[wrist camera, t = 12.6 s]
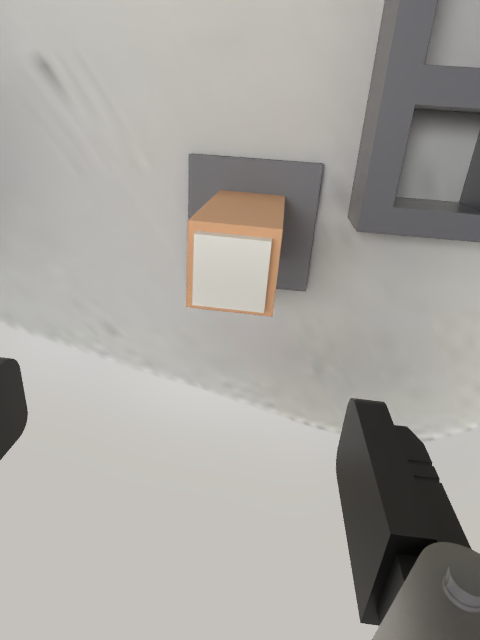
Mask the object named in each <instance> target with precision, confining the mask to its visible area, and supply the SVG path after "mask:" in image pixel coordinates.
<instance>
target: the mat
mask: <svg viewBox="0 0 480 640" xmlns="http://www.w3.org/2000/svg"><path fill="white" fill-rule="evenodd" d="M322 170H323V163H310V162H297V161H283V160H270V159H256V158H243V157H230V156H216V155H203V154H189V203H188V220H189V219H190V218H191V217H192V216H193V215H194V214H195V213H196V212H197V211H198V210H199V209H200V208H201V207H202V206H204V205H205V204H206V203H207V202H208V201H209V200H210V199H211V198H212V197H213V196H214V195H215V194H216V193H217V192H219V191H220V190H226V191H237V192H248V193H259V194H270V195H281V196H285V205H284V219H283V232H282V241H281V249H280V258H279V266H278V275H277V283H276V289H286V290H296V291H306V285H307V278H308V271H309V263H310V256H311V249H312V242H313V235H314V227H315V220H316V213H317V206H318V199H319V192H320V184H321V177H322Z"/></svg>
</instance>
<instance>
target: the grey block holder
mask: <svg viewBox="0 0 480 640" xmlns="http://www.w3.org/2000/svg"><path fill="white" fill-rule="evenodd" d="M437 2H438V0H385V3H384V9H383V15H382V20H381V26H380V32H379V38H378V44H377V49H376V55H375V61H374V67H373V73H372V78H371V84H370V90H369V96H368V102H367V107H366V113H365V119H364V125H363V131H362V137H361V142H360V148H359V154H358V160H357V166H356V171H355V177H354V183H353V189H352V195H351V200H350V206H349V212H348V218H349V220H350V221H351V223H352V224H353V226H354V228H355V229H356V231H357V232H368V233H379V234H391V235H403V236H414V237H426V238H438V239H449V240H461V241H473V242H480V132H479V135H478V139H477V142H476V146H475V149H474V153H473V156H472V160H471V163H470V167H469V170H468V174H467V177H466V181H465V184H464V188H463V192H462V195H461V199H460V202H450V201H437V200H424V199H412V198H399V197H395V196H396V191H397V186H398V182H399V177H400V173H401V168H402V163H403V159H404V154H405V150H406V145H407V140H408V136H409V131H410V126H411V122H412V117H413V113H414V109H428V110H444V111H459V112H475V113H480V68H472V67H454V66H437V65H424V62H425V57H426V53H427V48H428V43H429V39H430V34H431V30H432V25H433V20H434V16H435V11H436V6H437Z"/></svg>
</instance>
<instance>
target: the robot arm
mask: <svg viewBox="0 0 480 640" xmlns="http://www.w3.org/2000/svg"><path fill="white" fill-rule="evenodd" d="M27 413H28V412H27V405H26V400H25V394H24V389H23V382H22V377H21V372H20V366H19V364H18V362H17V361H16V360H14V359H10V358H1V357H0V460H1V459H2V457H3V456H4V455H5V454H6V453H7V451H8V450H9V449H10V448H11V446H13V444H14V443H15V442H16V441H17V440H18V438H19V437H20V436H21V434H22V433H23V430H24V428H25V426H26V422H27V415H28V414H27ZM336 473H337V481H338V486H339V493H340V499H341V506H342V512H343V518H344V524H345V530H346V535H347V542H348V548H349V555H350V560H351V567H352V573H353V579H354V585H355V592H356V598H357V603H358V610H359V616H360V622H361V623H365V624H372V625H379V628H378V630H377V632H376V633H375V635H374V637H373V639H372V640H480V554H479V553H477V552H475V551H473V550H472V549H471V547H470V545H469V543H468V541H467V539H466V536H465V534H464V532H463V530H462V527H461V525H460V523H459V521H458V519H457V517H456V514H455V512H454V510H453V508H452V505H451V503H450V501H449V499H448V497H447V494H446V492H445V490H444V488H443V486H442V483H439V477H438V475H437V472H436V470H435V468H434V467H433V466H432V462H431V459H430V457H429V455H428V453H427V450H426V448H425V446H424V444H423V443H422V442H421V441H420V440H419V439H418V438H417V437H416V435H415V434H414V433H413V432H412V431H411V430H410V429H409V428H408V427H405V426H396V425H394V424H393V421H392V419H391V416H390V413H389V411H388V408H387V406H386V404H385V403H384V402H381V401H372V400H363V399H354V398H351V399H350V401H349V403H348V406H347V410H346V415H345V419H344V423H343V428H342V432H341V437H340V441H339V445H338V451H337V459H336Z"/></svg>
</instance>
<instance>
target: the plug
mask: <svg viewBox="0 0 480 640" xmlns="http://www.w3.org/2000/svg"><path fill="white" fill-rule="evenodd" d="M284 205H285V196H281V195H270V194H259V193H248V192H237V191H226V190H220V191H219V192H217V193H216V194H215V195H214V196H213V197H212V198H211V199H210V200H209V201H208V202H207V203H206V204H205V205H204V206H202V207H201V208H200V209H199V210H198V211H197V212H196V213H195V214H194V215H193V216H192V217H191V218H190V219H189V220H188V238H187V293H186V307H191V308H199V309H208V310H217V311H226V312H235V313H244V314H253V315H262V316H271V317H273V308H274V300H275V291H276V283H277V275H278V266H279V258H280V249H281V241H282V232H283V219H284Z"/></svg>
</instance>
